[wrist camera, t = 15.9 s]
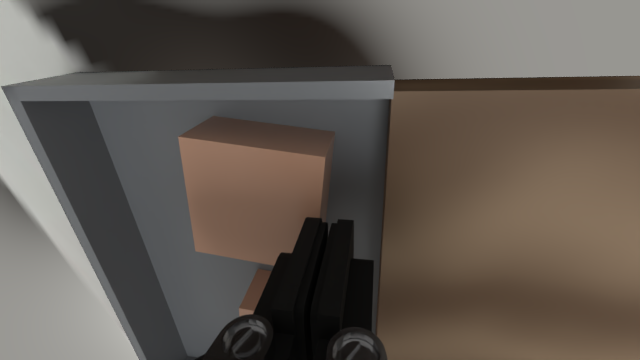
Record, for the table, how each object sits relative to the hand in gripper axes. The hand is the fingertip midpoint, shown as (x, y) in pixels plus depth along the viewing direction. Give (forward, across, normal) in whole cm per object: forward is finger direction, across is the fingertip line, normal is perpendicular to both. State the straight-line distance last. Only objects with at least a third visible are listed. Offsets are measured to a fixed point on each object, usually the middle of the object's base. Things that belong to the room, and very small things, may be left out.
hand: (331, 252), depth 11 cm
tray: (+3, +5, +4) cm, 7 cm away
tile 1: (+3, +3, -1) cm, 4 cm away
